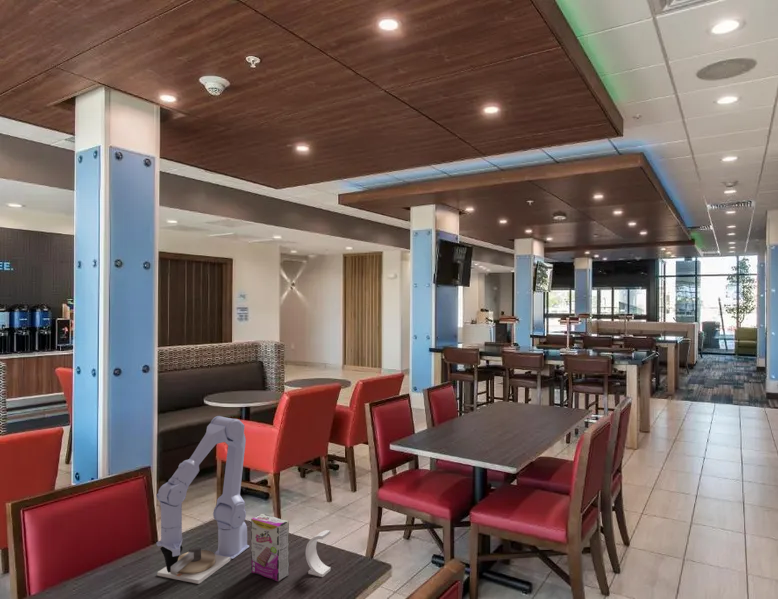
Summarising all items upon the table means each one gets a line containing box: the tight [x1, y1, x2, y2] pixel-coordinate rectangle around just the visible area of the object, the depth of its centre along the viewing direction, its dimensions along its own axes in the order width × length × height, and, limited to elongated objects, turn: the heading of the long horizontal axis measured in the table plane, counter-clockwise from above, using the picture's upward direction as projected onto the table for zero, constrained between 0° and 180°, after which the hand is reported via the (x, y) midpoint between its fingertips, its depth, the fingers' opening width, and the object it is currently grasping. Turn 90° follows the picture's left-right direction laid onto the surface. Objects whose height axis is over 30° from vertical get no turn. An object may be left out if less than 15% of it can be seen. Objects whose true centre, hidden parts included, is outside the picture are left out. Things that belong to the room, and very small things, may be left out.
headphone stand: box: [305, 529, 332, 578], centre depth 161 cm, size 5×6×12 cm
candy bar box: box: [250, 513, 290, 582], centre depth 160 cm, size 11×5×16 cm, turn 59°
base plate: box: [156, 555, 231, 585], centre depth 164 cm, size 15×15×1 cm
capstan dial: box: [171, 546, 215, 574], centre depth 162 cm, size 17×12×4 cm
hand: (171, 571), depth 157 cm, fingers closed
